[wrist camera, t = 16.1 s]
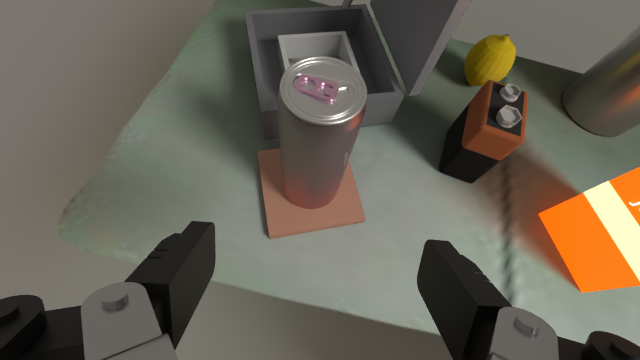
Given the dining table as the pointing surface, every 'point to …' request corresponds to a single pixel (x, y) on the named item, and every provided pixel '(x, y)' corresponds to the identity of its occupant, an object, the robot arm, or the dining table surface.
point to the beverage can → (318, 127)
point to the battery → (485, 131)
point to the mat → (298, 220)
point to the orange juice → (600, 234)
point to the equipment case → (352, 48)
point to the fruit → (489, 60)
